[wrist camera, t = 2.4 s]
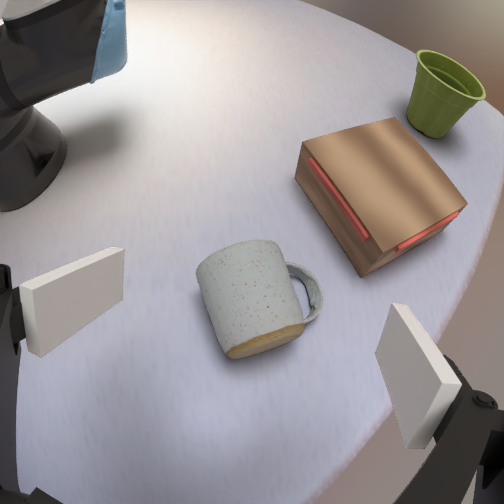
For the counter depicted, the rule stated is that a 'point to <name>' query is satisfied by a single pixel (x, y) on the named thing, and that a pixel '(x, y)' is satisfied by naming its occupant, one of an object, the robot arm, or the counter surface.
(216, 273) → the ceramic mug
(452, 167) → the counter surface
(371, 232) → the wooden box
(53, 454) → the counter surface
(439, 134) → the plant pot
